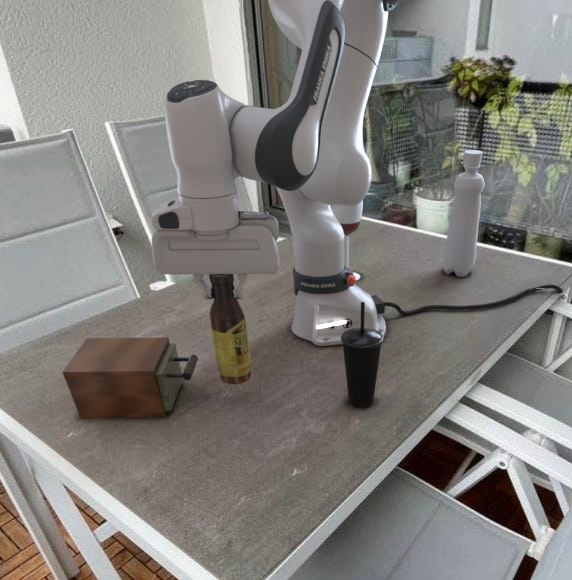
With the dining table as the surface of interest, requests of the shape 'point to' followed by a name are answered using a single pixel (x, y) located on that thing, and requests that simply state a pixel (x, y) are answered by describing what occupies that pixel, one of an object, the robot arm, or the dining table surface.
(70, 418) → the dining table surface
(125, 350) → the cabinet
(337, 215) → the wineglass
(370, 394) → the drinking cup
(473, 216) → the bottle
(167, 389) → the drawer
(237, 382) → the sauce bottle
